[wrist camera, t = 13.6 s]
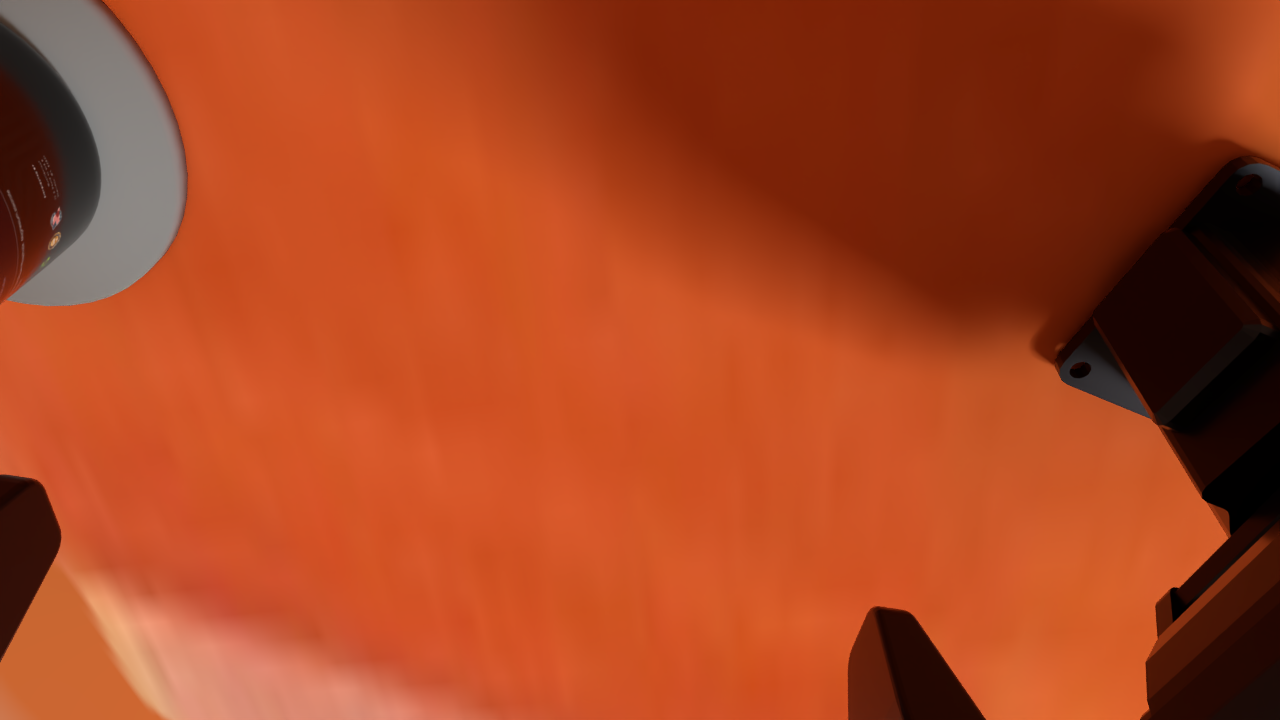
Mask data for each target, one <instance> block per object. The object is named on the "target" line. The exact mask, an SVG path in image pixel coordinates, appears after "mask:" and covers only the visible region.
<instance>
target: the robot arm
mask: <svg viewBox="0 0 1280 720" xmlns="http://www.w3.org/2000/svg"><path fill="white" fill-rule="evenodd" d="M1250 174H1253V178H1252V180H1251V181H1250V182H1249V183H1248V184H1247V185H1245V186H1244V187H1240V188H1236V185H1237V184H1238V182H1239V180H1241V179H1242V178H1243V177H1244V176H1247V175H1250ZM1079 362H1085V364H1084V365H1083V366H1081V367H1080V368H1077V369H1071V367H1072V366H1073V365H1075V364H1076V363H1079ZM1055 368H1056V370H1057V372H1058V374H1059V376H1060V378H1061V380H1062V381H1063V382H1065V383H1066V384H1067V385H1070V386H1072V387H1075V388H1077V389H1080V390H1082V391H1084V392H1087V393H1089V394H1092V395H1094V396H1097V397H1099V398H1101V399H1104V400H1106V401H1109V402H1111V403H1114V404H1116V405H1118V406H1121V407H1123V408H1126V409H1128V410H1131V411H1133V412H1135V413H1138V414H1140V415H1143V416H1145V417H1148V418H1150V419H1152V421H1153V422H1154V423H1155V424H1156V425H1158V427H1159V428H1160V430H1161V432H1162V433H1163V435H1164V437H1165V438H1166V440H1167V442H1168V443H1169V445H1170V446H1171V448H1172V450H1173V451H1174V453H1175V455H1176V456H1177V458H1178V460H1179V461H1180V463H1181V465H1182V466H1183V468H1184V469H1185V471H1186V473H1187V474H1188V476H1189V478H1190V479H1191V481H1192V483H1193V484H1194V486H1195V487H1196V489H1197V491H1198V492H1199V494H1200V496H1201V497H1202V499H1204V500H1205V501H1206V502H1207V503H1208V505H1209V507H1210V508H1211V510H1212V512H1213V513H1214V515H1215V516H1216V518H1217V520H1218V521H1219V523H1220V525H1221V526H1222V528H1223V530H1224V531H1225V533H1226V534H1227V536H1228V538H1229V539H1228V540H1227V541H1226V542H1225V543H1224V544H1223V545H1222V546H1221V547H1220V548H1219V549H1218V550H1217V551H1216V552H1215V553H1214V554H1213V555H1212V556H1211V557H1210V558H1209V559H1208V560H1207V561H1206V562H1205V563H1204V564H1203V565H1202V566H1201V567H1200V568H1199V569H1198V570H1197V571H1196V572H1195V573H1194V574H1193V575H1192V576H1191V577H1190V578H1189V579H1188V580H1187V581H1186V582H1185V583H1184V584H1183V585H1182V586H1181V587H1180V588H1175V587H1173V588H1171V589H1170V590H1169V591H1168V592H1167V593H1166V594H1165V595H1164V596H1163V597H1162V598H1161V599H1160V600H1159V601H1158V602H1157V603H1156V606H1155V608H1156V622H1157V636H1158V640H1157V642H1156V643H1155V645H1154V647H1153V649H1152V651H1151V653H1150V655H1149V657H1148V659H1147V661H1146V682H1147V702H1148V705H1149V710H1148V711H1146V712H1145V713H1144V714H1143V715H1142V717H1141V719H1140V720H1280V168H1279V167H1277V166H1275V165H1273V164H1270V163H1268V162H1266V161H1264V160H1262V159H1260V158H1258V157H1253V156H1244V157H1239V158H1237V159H1235V160H1232V161H1230V162H1229V163H1228V164H1227V165H1225V166H1224V167H1223V168H1222V169H1221V170H1220V171H1219V172H1218V173H1217V175H1216V176H1215V177H1214V178H1213V179H1212V180H1211V181H1210V183H1209V184H1208V185H1207V186H1206V187H1205V188H1204V189H1203V191H1202V192H1201V193H1200V194H1199V195H1198V196H1197V197H1196V198H1195V200H1194V201H1193V202H1192V203H1191V204H1190V205H1189V206H1188V208H1187V209H1186V210H1185V211H1184V212H1183V213H1182V214H1181V216H1180V217H1179V218H1178V219H1177V220H1176V221H1175V222H1174V224H1173V225H1172V226H1171V227H1170V228H1169V229H1168V230H1167V231H1166V232H1164V233H1162V234H1161V235H1160V236H1159V237H1158V238H1157V240H1156V241H1155V242H1154V243H1153V244H1152V245H1151V246H1150V248H1149V249H1148V250H1147V251H1146V252H1145V253H1144V254H1143V256H1142V257H1141V258H1140V259H1139V260H1138V261H1137V262H1136V264H1135V265H1134V266H1133V267H1132V268H1131V269H1130V270H1129V272H1128V273H1127V274H1126V275H1125V276H1124V277H1123V278H1122V280H1121V281H1120V282H1119V283H1118V284H1117V285H1116V286H1115V288H1114V289H1113V290H1112V291H1111V292H1110V293H1109V294H1108V296H1107V297H1106V298H1105V299H1104V300H1103V301H1102V302H1101V303H1100V305H1099V306H1098V307H1097V308H1096V309H1095V310H1094V312H1093V316H1092V317H1091V318H1090V319H1089V320H1088V321H1087V322H1086V324H1085V325H1084V326H1083V327H1082V328H1081V329H1080V330H1079V332H1078V333H1077V334H1076V335H1075V336H1074V337H1073V338H1072V340H1071V341H1070V342H1069V343H1068V344H1067V345H1066V346H1065V348H1064V349H1063V350H1062V351H1061V352H1060V353H1059V354H1058V356H1057V358H1056V360H1055ZM60 543H61V530H60V526H59V524H58V521H57V519H56V516H55V513H54V511H53V508H52V506H51V503H50V501H49V498H48V495H47V493H46V490H45V488H44V486H43V485H42V484H41V483H40V482H39V481H37V480H35V479H32V478H25V477H19V476H12V475H0V662H1V660H2V658H3V656H4V654H5V652H6V650H7V648H8V647H9V645H10V643H11V641H12V639H13V637H14V635H15V633H16V631H17V629H18V628H19V626H20V624H21V622H22V619H23V618H24V616H25V614H26V612H27V610H28V609H29V606H30V605H31V603H32V601H33V599H34V597H35V595H36V593H37V591H38V589H39V588H40V586H41V584H42V582H43V580H44V578H45V576H46V574H47V572H48V570H49V568H50V567H51V565H52V563H53V561H54V559H55V557H56V555H57V553H58V550H59V547H60ZM848 720H986V719H985V718H984V716H983V715H982V713H981V712H980V710H979V709H978V708H977V706H976V705H975V703H974V702H973V700H972V699H971V697H970V696H969V695H968V693H967V692H966V690H965V689H964V687H963V686H962V684H961V683H960V682H959V680H958V679H957V677H956V676H955V674H954V673H953V671H952V670H951V669H950V667H949V666H948V664H947V663H946V661H945V660H944V659H943V657H942V656H941V654H940V653H939V651H938V650H937V648H936V647H935V646H934V644H933V643H932V641H931V640H930V638H929V637H928V635H927V634H926V633H925V631H924V630H923V628H922V627H921V625H920V624H919V622H918V621H917V620H916V618H915V617H914V616H913V615H912V614H911V613H909V612H908V611H905V610H900V609H893V608H887V607H880V606H875V607H873V608H871V609H870V610H869V612H868V613H867V615H866V618H865V620H864V622H863V625H862V627H861V629H860V631H859V634H858V636H857V638H856V641H855V643H854V645H853V647H852V650H851V653H850V657H849V663H848Z"/></svg>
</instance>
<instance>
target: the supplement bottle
mask: <svg viewBox="0 0 1280 720" xmlns="http://www.w3.org/2000/svg"><path fill="white" fill-rule="evenodd" d="M101 181H102V180H101V165H100V158H99V153H98V149H97V145H96V142H95V139H94V136H93V133H92V130H91V128H90V126H89V123H88V121H87V119H86V117H85V115H84V113H83V111H82V109H81V107H80V105H79V104H78V102H77V100H76V99H75V97H74V96H73V94H72V92H71V91H70V89H69V88H68V87H67V85H66V84H65V83H64V81H63V80H62V79H61V77H60V76H59V75H58V74H57V73H56V71H55V70H54V69H53V68H52V67H51V65H50V64H49V63H48V62H47V61H46V60H45V59H44V58H43V57H42V56H41V55H40V54H39V53H38V52H37V51H36V50H35V49H34V48H33V47H32V46H31V45H29V44H28V43H27V42H26V41H25V40H24V39H23V38H21V37H20V36H19V35H18V34H16V33H15V32H14V31H13V30H11V29H10V28H9V27H7V26H6V25H4V24H3V23H2V22H0V305H1V304H2V303H3V302H4V301H6V300H7V299H8V298H9V297H10V296H12V295H13V294H14V293H15V292H17V291H18V290H19V289H20V288H21V287H23V286H24V285H25V284H26V283H27V282H29V281H30V280H31V279H32V278H34V277H35V276H36V275H37V274H38V273H40V272H41V271H42V270H43V269H44V268H46V267H47V266H48V265H49V264H50V263H52V262H53V261H54V260H55V259H56V258H57V257H58V256H60V255H61V254H62V253H63V252H64V251H65V250H66V249H68V248H69V247H70V246H71V245H72V244H73V243H74V242H75V241H76V240H77V239H78V238H79V237H80V236H81V235H82V234H83V233H84V231H85V230H86V229H87V228H88V226H89V224H90V223H91V221H92V219H93V217H94V215H95V212H96V209H97V207H98V203H99V199H100V194H101Z"/></svg>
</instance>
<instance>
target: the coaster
mask: <svg viewBox="0 0 1280 720" xmlns="http://www.w3.org/2000/svg"><path fill="white" fill-rule="evenodd" d="M0 22H2V23H3V24H4V25H6V26H7V27H9V28H10V29H11V30H13V31H14V32H15V33H16V34H18V35H19V36H20V37H21V38H23V39H24V40H25V41H26V42H27V43H28V44H29V45H31V46H32V47H33V48H34V49H35V50H36V51H37V52H38V53H39V54H40V55H41V56H42V57H43V58H44V59H45V60H46V61H47V62H48V63H49V64H50V65H51V67H52V68H53V69H54V70H55V71H56V73H57V74H58V75H59V76H60V77H61V79H62V80H63V81H64V83H65V84H66V85H67V87H68V88H69V89H70V91H71V92H72V94H73V96H74V97H75V99H76V100H77V102H78V104H79V105H80V107H81V109H82V111H83V113H84V115H85V117H86V119H87V121H88V123H89V126H90V128H91V130H92V133H93V136H94V139H95V142H96V145H97V149H98V153H99V158H100V165H101V180H102V181H101V194H100V199H99V203H98V207H97V209H96V212H95V215H94V217H93V219H92V221H91V223H90V224H89V226H88V228H87V229H86V230H85V231H84V233H83V234H82V235H81V236H80V237H79V238H78V239H77V240H76V241H75V242H74V243H73V244H72V245H71V246H70V247H69V248H68V249H66V250H65V251H64V252H63V253H62V254H61V255H60V256H58V257H57V258H56V259H55V260H54V261H53V262H52V263H50V264H49V265H48V266H47V267H46V268H44V269H43V270H42V271H41V272H40V273H38V274H37V275H36V276H35V277H34V278H32V279H31V280H30V281H29V282H27V283H26V284H25V285H24V286H23V287H21V288H20V289H19V290H18V291H17V292H15V293H14V294H13V295H12V296H10V297H9V298H8V299H7V300H9V301H14V302H19V303H24V304H34V305H44V306H70V305H77V304H83V303H90V302H94V301H97V300H100V299H104V298H107V297H110V296H112V295H114V294H116V293H118V292H120V291H122V290H124V289H126V288H128V287H129V286H131V285H132V284H133V283H135V282H136V281H137V280H139V279H140V278H141V277H143V276H144V275H145V274H146V273H147V272H148V271H149V270H150V269H151V268H152V267H153V266H154V265H155V264H156V263H157V262H158V261H159V260H160V259H161V258H162V257H163V256H164V254H165V253H166V252H167V251H168V249H169V247H170V246H171V244H172V242H173V241H174V239H175V237H176V236H177V233H178V230H179V228H180V225H181V222H182V220H183V216H184V211H185V205H186V200H187V176H188V173H187V166H186V158H185V150H184V146H183V142H182V138H181V134H180V130H179V126H178V123H177V120H176V118H175V115H174V112H173V110H172V107H171V105H170V102H169V100H168V97H167V95H166V93H165V91H164V89H163V87H162V85H161V83H160V81H159V79H158V77H157V75H156V73H155V71H154V70H153V68H152V66H151V65H150V63H149V62H148V60H147V58H146V57H145V55H144V54H143V52H142V51H141V49H140V48H139V46H138V45H137V43H136V41H135V40H134V39H133V37H132V36H131V35H130V34H129V32H128V31H127V30H126V29H125V27H124V26H123V25H122V23H121V22H120V21H119V20H118V18H117V17H116V16H115V15H114V13H113V12H112V11H111V10H110V9H109V8H108V7H107V6H106V5H105V4H104V3H103V2H102V1H101V0H0Z"/></svg>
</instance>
